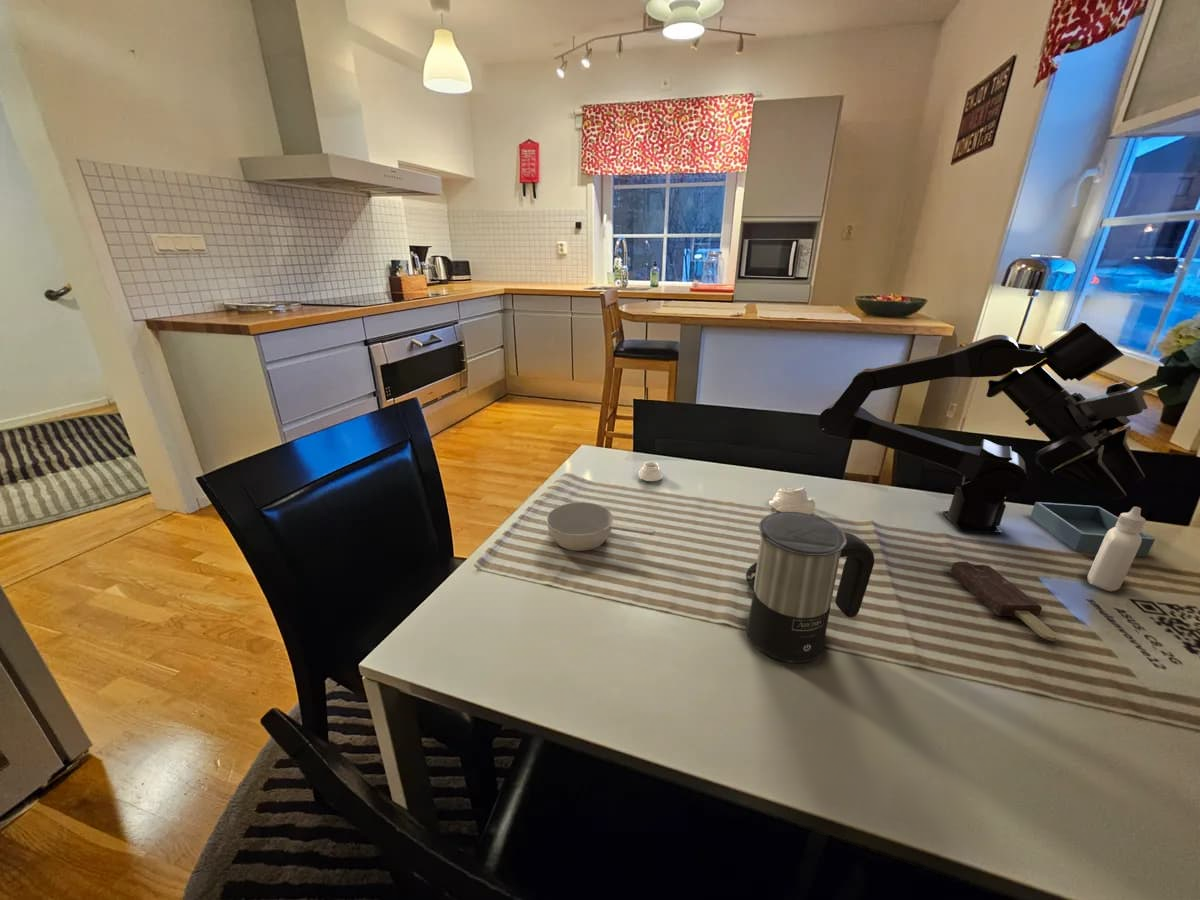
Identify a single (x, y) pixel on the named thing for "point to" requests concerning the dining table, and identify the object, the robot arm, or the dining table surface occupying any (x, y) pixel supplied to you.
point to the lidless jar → (650, 472)
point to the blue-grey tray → (1081, 525)
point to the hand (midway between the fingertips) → (1131, 488)
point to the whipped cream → (793, 501)
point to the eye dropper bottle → (1117, 551)
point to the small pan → (584, 525)
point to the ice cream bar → (1001, 595)
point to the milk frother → (802, 583)
